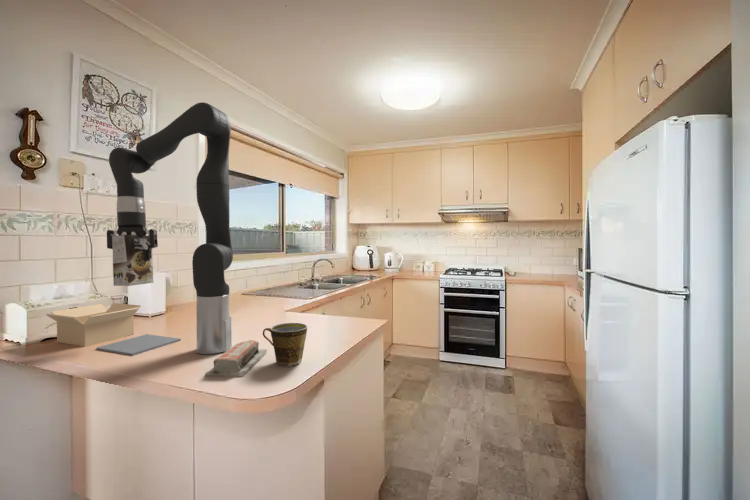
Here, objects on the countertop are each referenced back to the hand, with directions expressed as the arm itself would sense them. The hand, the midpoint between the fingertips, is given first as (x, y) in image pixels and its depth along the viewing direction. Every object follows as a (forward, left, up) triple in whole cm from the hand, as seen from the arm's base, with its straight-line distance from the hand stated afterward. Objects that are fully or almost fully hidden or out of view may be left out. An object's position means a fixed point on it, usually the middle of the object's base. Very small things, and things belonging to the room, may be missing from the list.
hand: (133, 261), depth 108 cm
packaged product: (-38, +23, -28) cm, 53 cm away
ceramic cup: (-51, +24, -27) cm, 62 cm away
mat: (-3, +2, -27) cm, 27 cm away
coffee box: (0, 0, -8) cm, 8 cm away
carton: (+16, -9, -27) cm, 33 cm away
